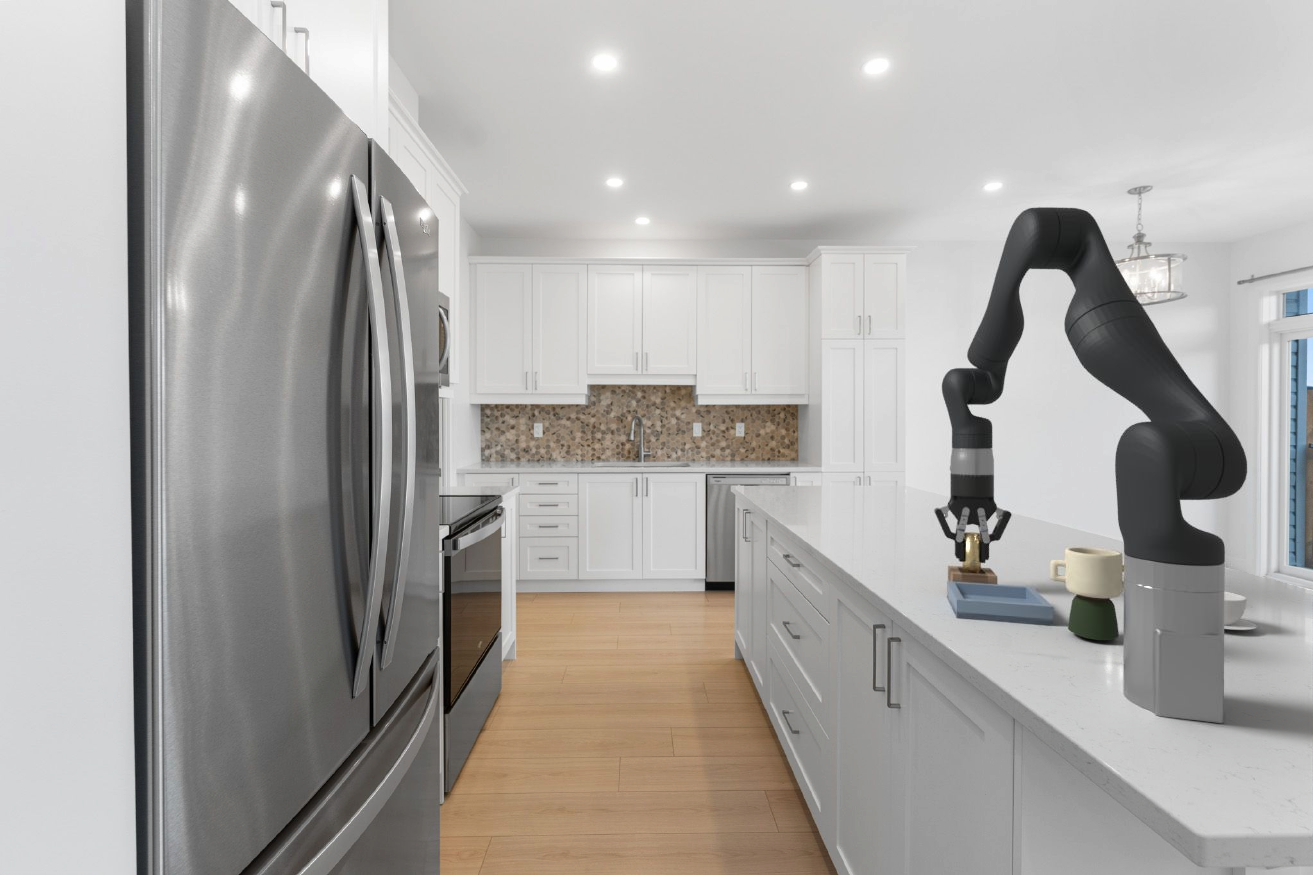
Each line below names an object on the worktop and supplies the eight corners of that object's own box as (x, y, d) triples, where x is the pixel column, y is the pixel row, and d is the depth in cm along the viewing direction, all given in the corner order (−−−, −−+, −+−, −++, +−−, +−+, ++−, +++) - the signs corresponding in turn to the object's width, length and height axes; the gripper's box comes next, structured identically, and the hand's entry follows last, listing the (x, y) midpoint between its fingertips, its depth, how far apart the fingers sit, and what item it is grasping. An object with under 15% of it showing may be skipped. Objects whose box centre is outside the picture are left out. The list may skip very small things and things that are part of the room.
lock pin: (982, 587, 122) (981, 534, 122) (963, 586, 123) (963, 533, 123) (980, 584, 125) (979, 532, 125) (961, 583, 126) (961, 531, 126)
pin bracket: (997, 597, 119) (997, 576, 119) (952, 594, 122) (952, 573, 122) (990, 588, 126) (990, 568, 126) (947, 585, 129) (947, 565, 129)
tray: (1053, 625, 102) (1053, 606, 102) (956, 617, 107) (956, 599, 107) (1032, 603, 116) (1032, 586, 116) (946, 597, 120) (946, 581, 120)
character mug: (1135, 637, 97) (1135, 550, 96) (1141, 651, 90) (1141, 558, 90) (1049, 626, 102) (1050, 544, 102) (1050, 638, 96) (1050, 551, 96)
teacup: (1261, 637, 97) (1262, 606, 97) (1177, 625, 103) (1177, 596, 103) (1252, 621, 105) (1252, 592, 105) (1174, 611, 111) (1174, 584, 111)
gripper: (934, 472, 122) (934, 563, 123) (1017, 473, 118) (1017, 567, 118) (930, 470, 130) (930, 556, 130) (1008, 471, 125) (1008, 560, 125)
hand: (971, 561), depth 124 cm, fingers closed on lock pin, 3 cm apart
